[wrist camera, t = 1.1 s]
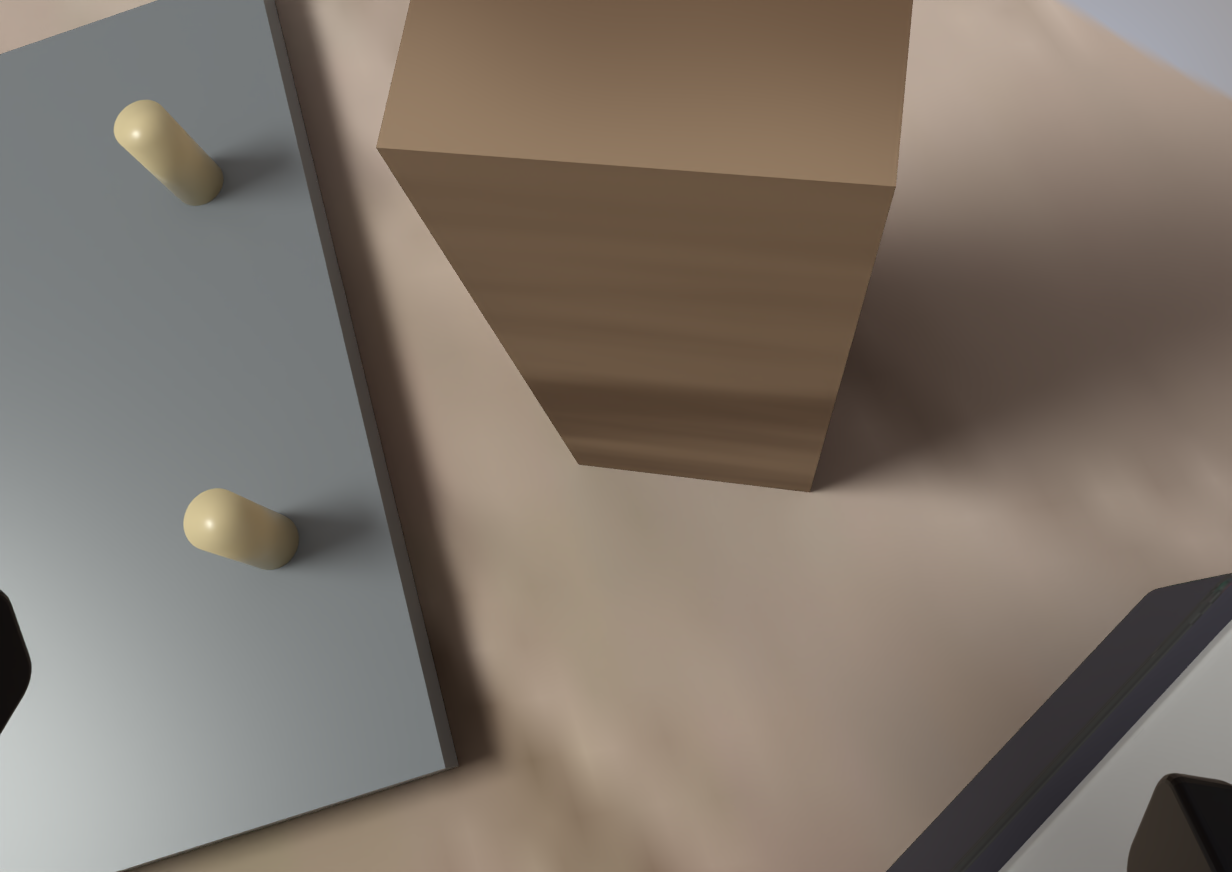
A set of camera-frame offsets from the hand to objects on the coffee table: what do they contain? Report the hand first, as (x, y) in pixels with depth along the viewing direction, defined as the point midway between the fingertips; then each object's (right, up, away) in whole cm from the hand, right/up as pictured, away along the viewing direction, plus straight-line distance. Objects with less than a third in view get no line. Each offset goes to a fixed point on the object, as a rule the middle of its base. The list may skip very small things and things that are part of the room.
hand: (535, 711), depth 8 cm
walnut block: (+3, +4, +15) cm, 16 cm away
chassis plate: (-12, +2, +16) cm, 20 cm away
